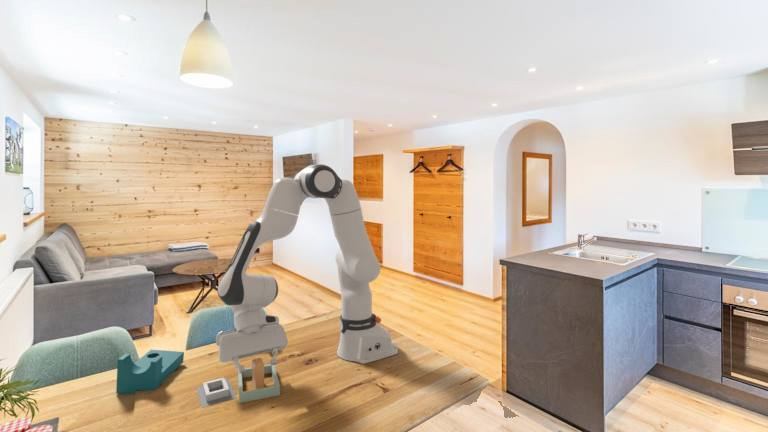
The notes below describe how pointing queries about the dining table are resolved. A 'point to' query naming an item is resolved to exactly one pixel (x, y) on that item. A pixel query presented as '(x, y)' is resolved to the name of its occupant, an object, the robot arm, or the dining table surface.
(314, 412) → the dining table surface
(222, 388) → the grey socket base plate
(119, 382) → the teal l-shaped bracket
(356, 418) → the dining table surface
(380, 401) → the dining table surface
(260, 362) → the orange rectangular block
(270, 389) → the tray
